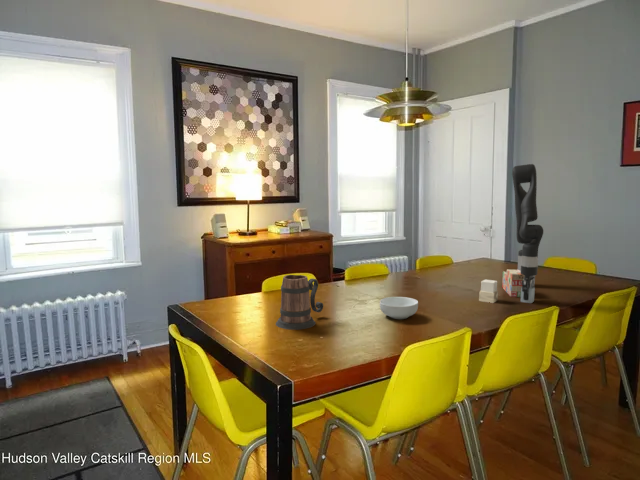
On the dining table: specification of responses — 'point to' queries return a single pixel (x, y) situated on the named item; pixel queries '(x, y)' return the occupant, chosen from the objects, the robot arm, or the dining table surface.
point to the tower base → (488, 296)
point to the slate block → (531, 295)
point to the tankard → (297, 302)
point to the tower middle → (489, 286)
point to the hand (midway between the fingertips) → (527, 298)
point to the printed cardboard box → (512, 282)
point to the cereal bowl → (398, 307)
